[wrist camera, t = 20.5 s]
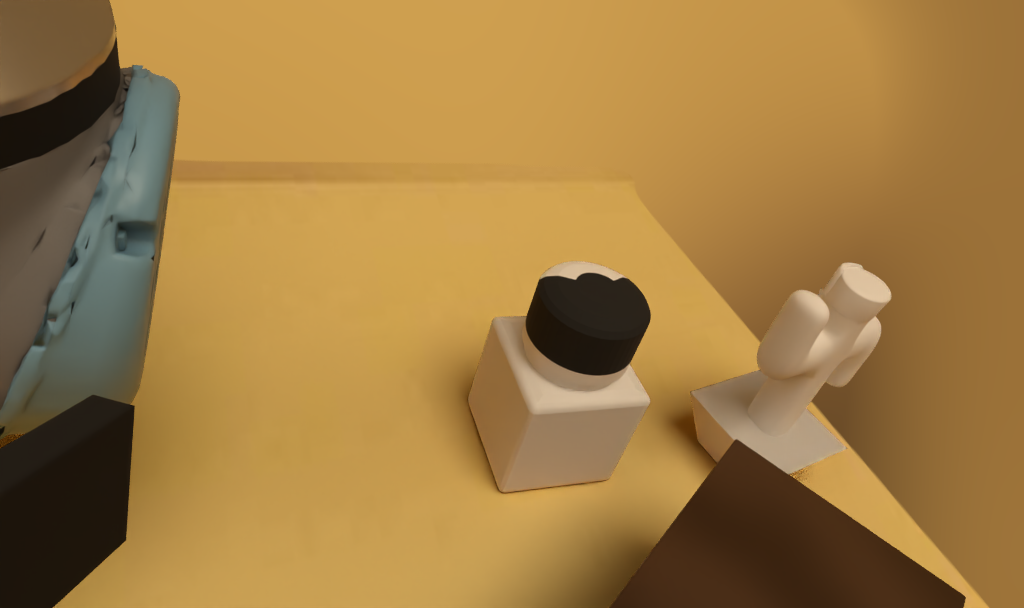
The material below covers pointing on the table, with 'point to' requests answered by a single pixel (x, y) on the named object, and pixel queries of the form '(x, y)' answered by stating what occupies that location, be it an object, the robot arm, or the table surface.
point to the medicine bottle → (562, 380)
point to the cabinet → (774, 551)
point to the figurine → (795, 373)
